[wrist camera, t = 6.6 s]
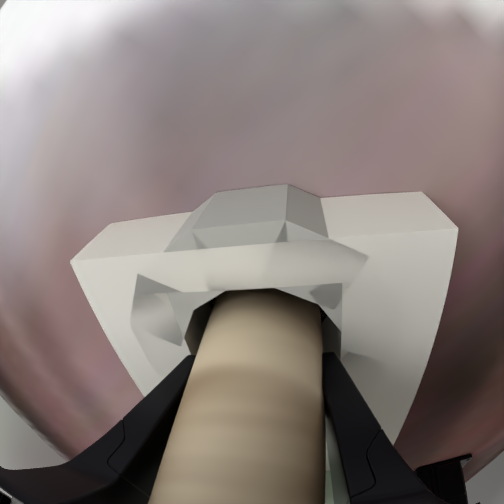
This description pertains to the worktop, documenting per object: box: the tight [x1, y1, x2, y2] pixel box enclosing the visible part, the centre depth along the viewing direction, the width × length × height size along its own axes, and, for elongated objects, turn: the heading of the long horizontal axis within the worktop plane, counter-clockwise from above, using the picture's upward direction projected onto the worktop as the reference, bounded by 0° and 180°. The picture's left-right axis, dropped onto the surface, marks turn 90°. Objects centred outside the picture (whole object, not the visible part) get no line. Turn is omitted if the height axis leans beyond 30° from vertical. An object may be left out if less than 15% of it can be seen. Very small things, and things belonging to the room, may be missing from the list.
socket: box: [70, 184, 458, 471], centre depth 13 cm, size 17×12×3 cm
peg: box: [148, 288, 326, 504], centre depth 8 cm, size 4×4×8 cm
